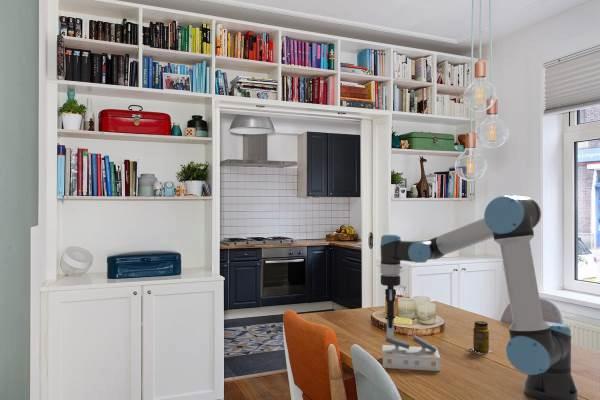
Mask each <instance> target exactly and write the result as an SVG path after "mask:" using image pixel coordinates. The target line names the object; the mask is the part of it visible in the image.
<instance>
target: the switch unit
mask: <svg viewBox="0 0 600 400" xmlns="http://www.w3.org/2000/svg"><path fill="white" fill-rule="evenodd" d="M383 367H384V369H397V370H398V369H399V370H414V371H415V370H416V371H418V370H419V371H433V372H441V355H440V352H439V350H438V348H437V347H436V352H435V353H434V352H432V351H431V350H429V349H427V348H425V347H423V346H422V345H421V346H409V349H407V348H404V347H401V346H397V345H393V344H392V345H389V344H383V345H382V368H383Z"/></svg>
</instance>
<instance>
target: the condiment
mask: <svg viewBox="0 0 600 400" xmlns="http://www.w3.org/2000/svg"><path fill="white" fill-rule="evenodd" d="M489 332H490V330H489V323H488V322H487V321H482V320H477V321H474V328H473V337H472V338H473V341H472V342H473V346H472V348H467V349H466V351H468V352H470V353H473V354H477V355H480V356H482V355H485V354H489V353H492V352H493V353H494V351H493V350H490V347H489V346H490V345H489V344H490V337H489V335H490V333H489ZM473 348H474V351H473V350H472V349H473ZM471 350H472V351H471ZM475 351H476V352H475ZM478 352H480V353H478ZM487 352H488V353H487ZM484 353H485V354H484Z"/></svg>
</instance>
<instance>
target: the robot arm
mask: <svg viewBox="0 0 600 400" xmlns="http://www.w3.org/2000/svg"><path fill="white" fill-rule="evenodd" d="M485 207H486V208H485V211H484V215H483V217H484V218H482V219H478V220H476V221H473V222H471V223H469V224H465V225H464V226H461V227H458V228H456V229H453V230H451V231H449V232H448V231H447V232H446V233H444V234H443V233H442V234H440V235H438V236H435V237H433V238H430V239H426V240H415V241H414V240H413V241H409V240H407V241H406V240H402V239H401V236H400V235H398V234H384V235H381V238H380V274H381V275H380V284H381V285H382V286H384V287H385V286H386V287H387V288H385V290H384V292H385V301H386V317H384V320H386V335H387V336H391V337H394V336H395V318H396V315H395V310H394V309H395V302H396V294H397V292H396V291H397V290H396V289H395V287H399V286H400V285H401V269H403V267H402V266H401V261H403V262H411V263H417V264H418V263H422V264H423V263H424V264H425V263H426V262H427V261H429V260H439V259H440V258H442V257H444V256H446V255H448V254H451V253H453V252H456V251H460V250H463V249H465V248H468V247H471V246H474V245H476V244H479V243H483V242H485V241H488V240H491V239H493V241H495V243H497V244H498V245H499V246H500V251H501V259H502V263H503V270H504V277H505V283H506V288H507V294H508V299H509V300H508V301H509V306H510V307H509V308H510V311H511V313H510V314H511V319H512V323H511V324H510V325H509V326H508V332H509V337H510V339H509V340H508V341H507V344H506V346H505V347H506V348H505V352H506V357H507V360H508V362H509V363H510V365H511V366H513V368H515V369H516V370H517V371H519V372H521V373H523V374H524V375H527V376H526V379H525V382H524V392H525V394H527V395H528V396H530V397H532V398H534V399H537V400H578V389H577V386H576V383H575V381H574V378H573V375H572V338H573V337H572V333H571V331H572V330H571V328H570V326H568V325H566V324H563V323H557V322H554V321H553V322H552V321H545V320H544V317H543V315H544V314H543V311H542V305H541V300H540V294H539V287H538V282H537V277H536V269H535V265H534V260H533V259H534V258H533V253H532V247H531V240H532V239H533V238H534V237H535V234H534V228H536V227H537V225H538V224H539V222H540V220H541V218H542V217H541V216H542V210H541V207H540V205H539V204H538V203H537V202H536V201H535V200H534V199H533V198H531V197H529V196H523V195H511V194H509V195H507V194H506V195H503V196H501V195H500V196H497V197H495V198H493V199H492V200H491V201H489V203H488V204H487V205H486V206H485Z"/></svg>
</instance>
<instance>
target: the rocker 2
mask: <svg viewBox="0 0 600 400" xmlns="http://www.w3.org/2000/svg"><path fill="white" fill-rule="evenodd" d="M411 338H412V341H413V342H415V343H417V344H418V345H420V346H421V347H422V346H423V347H425V348H427V349H429V350H431V351H432V352H434V353H435V352H436V348H437V347H436V346H435V345H434V344H432V343H430V342H429V341H427V340H425V339H423V338H421V337H419V336H417V335H416V334H413V336H412V337H411Z"/></svg>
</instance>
